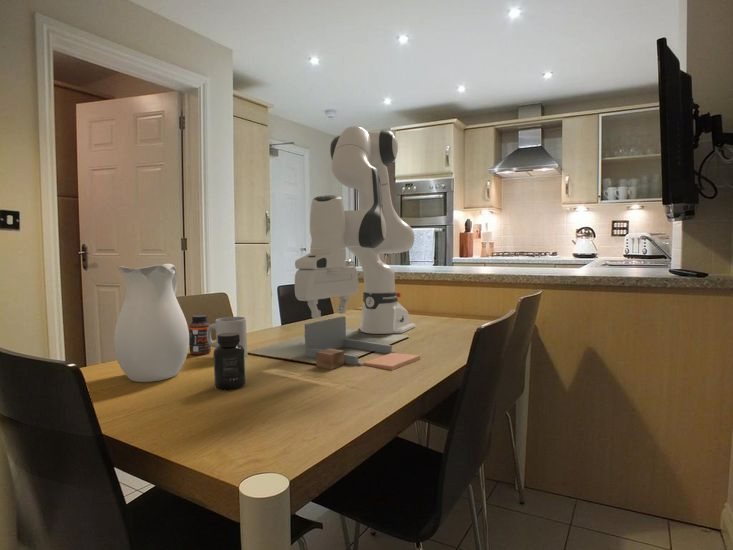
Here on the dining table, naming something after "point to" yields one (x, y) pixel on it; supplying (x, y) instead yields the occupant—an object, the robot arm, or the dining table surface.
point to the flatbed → (337, 340)
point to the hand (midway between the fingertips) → (329, 315)
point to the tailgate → (392, 361)
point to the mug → (229, 330)
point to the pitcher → (151, 325)
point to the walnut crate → (330, 358)
